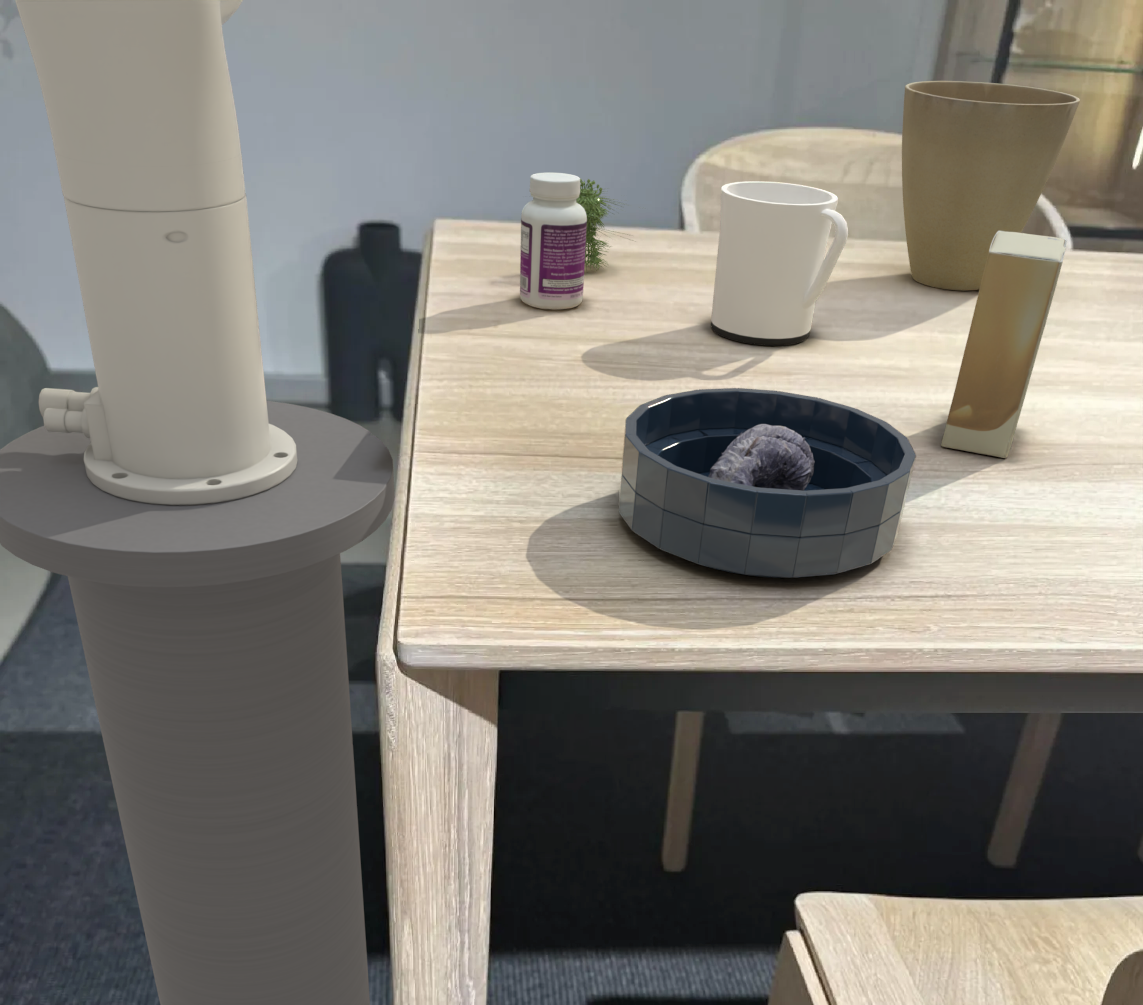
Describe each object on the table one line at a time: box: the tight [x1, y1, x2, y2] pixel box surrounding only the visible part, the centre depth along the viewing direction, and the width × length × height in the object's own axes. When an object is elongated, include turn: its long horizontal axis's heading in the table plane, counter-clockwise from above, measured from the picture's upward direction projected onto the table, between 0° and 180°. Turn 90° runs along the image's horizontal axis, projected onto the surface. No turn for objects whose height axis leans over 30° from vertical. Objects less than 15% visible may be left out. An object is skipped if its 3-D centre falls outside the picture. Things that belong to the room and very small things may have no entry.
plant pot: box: [901, 80, 1081, 291], centre depth 109 cm, size 15×15×16 cm
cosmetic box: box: [941, 231, 1068, 459], centre depth 75 cm, size 6×4×12 cm
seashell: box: [708, 424, 814, 491], centre depth 64 cm, size 5×5×10 cm
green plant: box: [522, 178, 646, 272], centre depth 107 cm, size 12×12×8 cm
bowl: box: [618, 387, 917, 579], centre depth 64 cm, size 15×15×5 cm
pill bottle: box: [519, 172, 587, 310], centre depth 97 cm, size 5×5×10 cm
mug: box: [710, 180, 849, 347], centre depth 93 cm, size 11×9×10 cm
